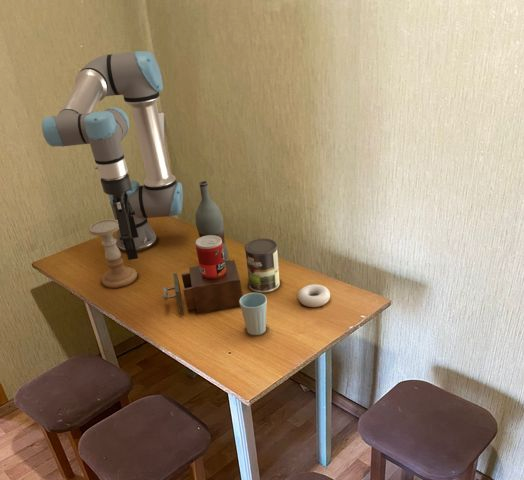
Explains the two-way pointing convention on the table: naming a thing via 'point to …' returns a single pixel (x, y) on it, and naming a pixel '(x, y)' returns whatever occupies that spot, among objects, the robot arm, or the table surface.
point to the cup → (254, 312)
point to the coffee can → (262, 265)
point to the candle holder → (112, 255)
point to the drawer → (187, 292)
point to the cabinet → (216, 289)
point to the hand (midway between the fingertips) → (133, 247)
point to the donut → (314, 301)
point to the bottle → (209, 217)
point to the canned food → (211, 256)
